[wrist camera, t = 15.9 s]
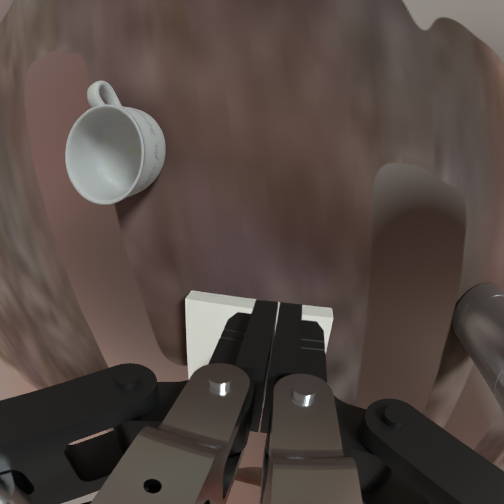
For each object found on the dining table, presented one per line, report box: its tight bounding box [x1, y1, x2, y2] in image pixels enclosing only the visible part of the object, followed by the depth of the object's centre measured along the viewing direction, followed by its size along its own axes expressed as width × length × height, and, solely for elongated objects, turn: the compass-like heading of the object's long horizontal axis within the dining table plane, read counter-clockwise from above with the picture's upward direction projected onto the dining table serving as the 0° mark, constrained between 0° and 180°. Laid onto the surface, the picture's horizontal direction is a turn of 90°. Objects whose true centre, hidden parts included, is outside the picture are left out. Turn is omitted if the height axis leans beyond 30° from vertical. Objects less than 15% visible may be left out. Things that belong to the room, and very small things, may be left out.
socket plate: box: [185, 290, 333, 379], centre depth 41 cm, size 18×14×2 cm
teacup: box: [65, 81, 166, 205], centre depth 33 cm, size 14×11×8 cm
